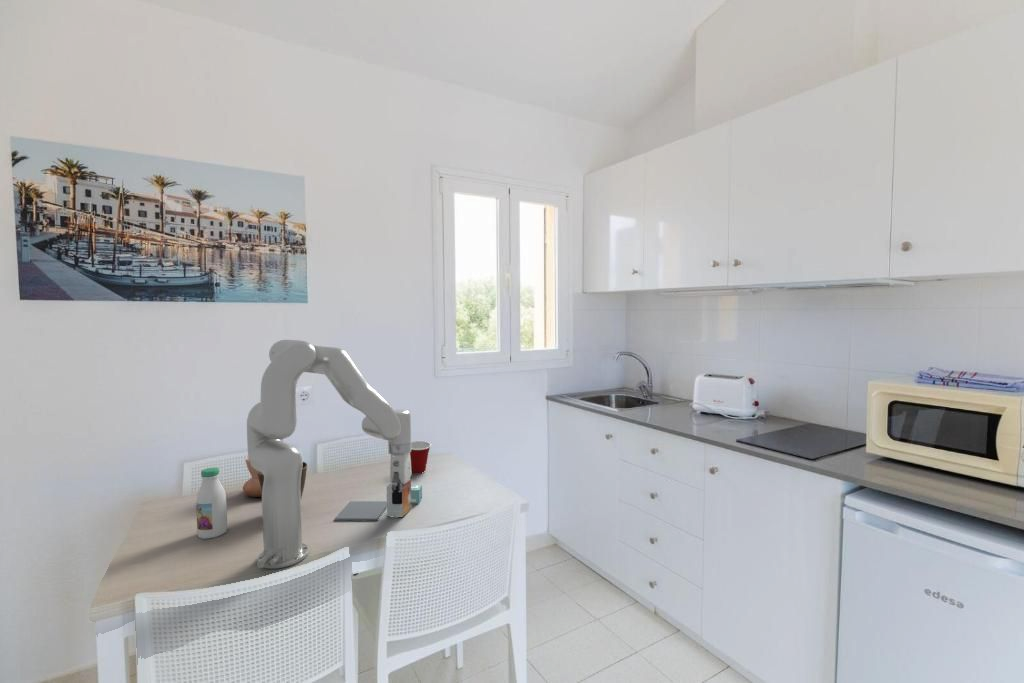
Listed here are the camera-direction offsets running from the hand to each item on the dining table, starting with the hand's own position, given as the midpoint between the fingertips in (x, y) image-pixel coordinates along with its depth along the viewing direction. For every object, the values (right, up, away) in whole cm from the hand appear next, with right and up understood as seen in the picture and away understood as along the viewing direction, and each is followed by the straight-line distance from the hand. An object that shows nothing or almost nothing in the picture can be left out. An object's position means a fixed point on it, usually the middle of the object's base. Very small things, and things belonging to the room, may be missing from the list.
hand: (400, 498), depth 158 cm
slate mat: (-13, -5, +1) cm, 14 cm away
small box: (-1, -5, 0) cm, 5 cm away
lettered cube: (+2, -5, +11) cm, 12 cm away
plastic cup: (-2, -3, +42) cm, 42 cm away
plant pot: (-39, -6, 0) cm, 39 cm away
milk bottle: (-54, -6, -14) cm, 56 cm away
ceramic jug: (-56, -5, +19) cm, 60 cm away
